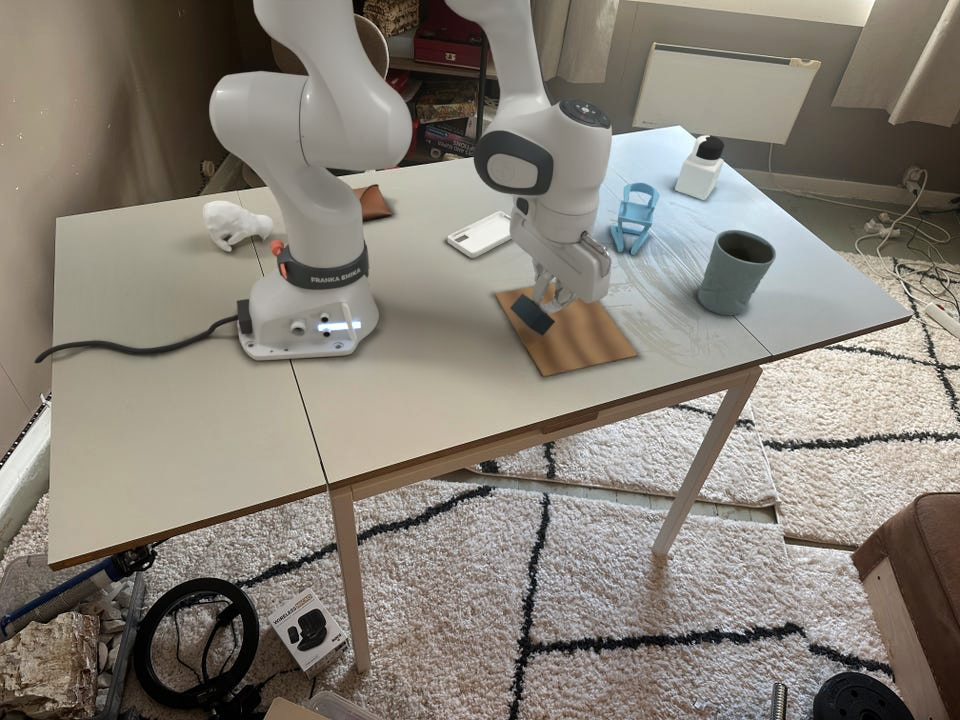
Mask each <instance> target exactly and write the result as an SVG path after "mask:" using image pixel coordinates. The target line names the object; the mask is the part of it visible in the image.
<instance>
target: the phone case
mask: <svg viewBox="0 0 960 720" xmlns="http://www.w3.org/2000/svg"><path fill="white" fill-rule="evenodd" d="M510 219H511V215H509V214H507V213H506V212H504V211H502V210H499V211H496V212H494V213H492V214H490V215H488V216H486V217H484V218H482V219H480V220H477V221H475V222H473V223H471V224H469V225H467V226H465V227H463V228H461V229H459V230H457V231H454V232H452V233H449V235H448V236H447V243H448V244H449V245H451V246H452V247H453V248H455V249H456V250H458V251H460V252H461V253H463V254H464V255H466V256H467V257H469V258H470V259H475V258H477V257H479V256H481V255H483V254H485V253H487V252H489V251H491V250H493V249H494V248H496V247H498V246H500V245H502V244H505V243H506V242H508V241H510V240H512V239H511V236H510V232H509V228H510ZM463 236H465V237H467V238H466V239H464V240H462V241H460V242H458V241H457V239H459V238H461V237H463Z"/></svg>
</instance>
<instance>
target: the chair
mask: <svg viewBox="0 0 960 720" xmlns="http://www.w3.org/2000/svg"><path fill="white" fill-rule="evenodd" d="M631 192H632V193H633V192H637V193H643V194H646V195H649V196H651V197H650V198H649V201H648V203H647V204H640V203H636V202H635V203H634V202H632V201H629V200H630V193H631ZM660 196H661V194H660V192H659V191H658V190H657V189H656V188H654V186H651V185H650V184H648V183H645V182H633V183H629V184H626V185H625V186H623V199H621V200H620V203H619V209H618V216H617V224H611V225H610V233H611V235H612V238H613V241H614V242H615V245H616V249H617V252H618V253H623V252H624V251H623V250H624V247H625V246H624V245H625V244H624V234H623V233H627V234H634V235H638V237H637V239H636V241H634V243H633V245H632V247H631V250H630V254H631V255H633V256H634V255H636V253H637V251H638V250H639V249H640V248H641V247H642V245H643V244H644V243H645V242H646V241H647V240H648V238H649V235H650V231H649V230H650V228H652V225H653V219H654V211H655V210H656V206H657V203H658V201H659V199H660ZM623 223H631V224H636V225H640V226H643V229H638V228H632V227H631V228H630V227H626V226H623Z"/></svg>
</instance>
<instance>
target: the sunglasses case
mask: <svg viewBox="0 0 960 720" xmlns="http://www.w3.org/2000/svg"><path fill="white" fill-rule="evenodd" d="M379 186H380V185H379V184H378V183H374V184H370V185H369V186H364V187H359V188H352V189H353V190H354V192H355V193H356V195H357V197H358V199H359V201H360V203H361V207H362V221H363V223H365V222H369V221H373V220H377V219H381V218H385V217H388V216H393V214H394V213H393V211H391V210H390V208H389V207H388V205H387V202H386V201H385V199H384V196H383V194H382V192H381V190H380V187H379Z"/></svg>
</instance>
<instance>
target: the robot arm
mask: <svg viewBox="0 0 960 720" xmlns="http://www.w3.org/2000/svg"><path fill="white" fill-rule="evenodd" d="M252 3H253V10H254V11H253V12H254V14H255V17H256V19H257V20H258V22H259V25H260V26H261V27H262V29H263V30H264V31H265V32H266V33H267V35H268V36H269V37H270V38H272V39H273V40H275V41H276V42H278V43H279V44H281V45H282V46H284V47H286V48H288V49H289V50H290V51H291V52H293V53H294V54H295V56H297V58H298V59H299V60H300V62H301V63H302V64H303V66H304V68H305V70H306V71H307V74H308V75H301V74H293V73H282V72H274V71H273V72H272V71H264V70H259V71H258V70H257V71H250V72H249V71H248V72H240V73H232V74H226V75H225V76H223V77H222V78H221V79H220V80H219V81H218V82H217V84H216V85H215V87H214V88H213V91H212V93H211V96H210V100H209V106H208V107H209V109H208V111H209V113H208V114H209V120H210V125H211V127H212V131H213V133H214V134H215V137H216V139H217V140H218V142H219V143H220V144H221V145H222V146H223V148H224V149H225V150H226V151H228V152H230V153H231V154H232V155H234V156H236V157H237V158H239V159H241V161H242V162H244V163H245V164H246V165H248V166H249V167H250V168H251V169H252V170H253V171H254V173H256V174H257V176H258V177H259V178H260V179H261V180H262V181H263V182H264V184H265V185H266V187H267V189H269V190H270V192H271V194H272V196H273V197H274V199H275V200H276V203H277V205H278V207H279V210H280V213H281V217H282V221H283V224H284V229H285V233H286V238H287V245H286V246H285V244H284V241H282V240H280V239H275V240H274V239H273V241H271V243H270V250H271V253H272V255H273V256H274V257H276V264H277V266H276V267H275V268H273V269H272V270H271V271H269V272H268V273H267V274H266V275H264V276H263V277H261V278H260V279H258V280H257V281H255V283H254V284H253V286H252V287H251V289H250V294H249V298H246V299H237V300H236V309H237V314H235V315H231V316H228V317H225V318H222V319H219V320H217V321H215V322H214V323H212V324H211V325H210V327H209V328H208V329H206V330H204V331H203V332H201V333H199V334H197V335H195V336H192V337H189V338H188V339H185V340H182V341H179V342H176V343H172V344H168V345H162V346H156V347H144V348H143V347H141V348H139V347H131V346H126V345H123V344H119V343H117V342H112V341H107V340H84V341H83V340H82V341H73V342H67V343H62V344H57V345H54V346H52V347H50V348H48V349H45V350H44V351H43V352H41V353H40V354H39V355H38V356H37V357H36V358H35V360H34V364H40V363H42V362H43V361H44V360H45V359H46V358H47V357H49V356H50V355H52V354H54V353H57V352H60V351H63V350H68V349H74V348H84V347H104V348H109V349H115V350H117V351H121V352H124V353H128V354H135V355H137V354H138V355H147V354H156V353H164V352H168V351H172V350H173V351H174V350H177V349H180V348H183V347H185V346H186V347H187V346H188V345H191V344H193V343H196V342H199V341H200V340H203V339H205V338H207V337H209V336H210V335H212V334H213V333H214V332H215V331H216V330H217V328H219V327H221V326H224V325H226V324H229V323H233V322H236V321H237V333H238V334H237V335H238V339H239V342H240V346H241V347H242V349H243V350H244V352H245V353H246V354H247V355H248V356H249V358H251V359H253V360H254V361H276V360H291V359H308V358H325V357H326V358H327V357H341V356H342V357H343V356H349V355H351V354H352V353H353V354H354V352H355V351H356V349H357V347H358V345H359V343H360V342H361V341H362V340H363V339H365V338H366V337H368V336H369V335H370V334H371V333H372V332H373V331H374V330H375V328H376V327H377V325H378V322H379V317H380V312H379V308H378V306H377V304H376V302H375V300H374V297H373V294H372V290H371V286H370V282H369V276H370V273H369V272H370V257H369V256H370V255H369V248H368V245H367V243H366V240H365V237H364V222H363V221H362V207H361V203H360V201H359V199H358V197H357V195H356V193H355V192H354V190H353V189H354V188H352V187H351V186H350V184H348V183H347V182H345V181H344V180H342V179H341V178H339V177H337V176H336V175H335V174H333V173H331V172H330V171H329V170H328V169H335V170H337V169H338V170H346V171H354V172H365V171H366V172H367V171H378V170H387V169H393V168H395V167H396V166H398V165H399V164H400V162H402V161H403V159H404V157H405V156H406V155H407V153H408V150H409V148H410V146H411V142H412V139H413V121H412V116H411V113H410V109H409V107H408V105H407V103H406V101H405V100H404V99H403V97H402V96H401V94H399V92H398V91H397V90H396V89H394V88H393V87H392V86H391V85H390V84H388V82H387V81H386V80H385V79H384V78H383V77H382V76H381V75H380V73H379V72H378V71H377V70H376V68H375V67H374V65H373V64H372V62H371V60H370V58H369V57H368V55H367V53H366V51H365V49H364V47H363V44H362V42H361V39H360V36H359V33H358V29H357V25H356V20H355V13H354V5H353V0H252ZM444 3H445V4H446V6H447V7H449V8H450V9H451V11H452V12H454V13H456V14H457V15H458V16H459V17H461V18H463V19H465V20H467V21H470V22H474V23H476V24H477V25H478V26H479V27H481V29H482V30H483V31H484V33H485V35H486V37H487V41H488V43H489V48H490V52H491V56H492V60H493V64H494V68H495V73H496V78H497V82H498V86H499V90H500V91H499V101H498V106H497V109H496V113H495V114H494V117H493V118H492V120H491V122H489V124H488V125H487V127H486V128H485V129H484V132H483V133H482V134H481V136H480V138H479V139H478V141H477V142H476V144H475V147H474V149H473V165H474V169H475V171H476V174H477V175H478V177H479V178H480V179H481V181H482V182H483V183H484V184H485V185H486V186H487V187H489V188H490V189H492V190H493V191H496V192H499V193H500V194H507V195H513V199H512V203H513V207H512V210H511V214H510V217H511V219H510V218H509V220H510V228H509V232H510V236H511V239H510V240H511V241H512V242H513V243H515V244H516V245H517V246H518V247H519V248H521V249H522V250H523V251H524V252H525V253H527V255H529V256H530V257H531V258H532V260H531V262H532V266H533V271H534V273H535V274H534V282H535V283H536V281H537V279H538V278H539V276H541V275H542V273H543V272H544V271H545V270H547V271H549V272H550V273H551V274H552V275H553V276H554V278H555V279H556V278H557V279H558V280H559V281H560V282H561V287H562V288H560V289H557V290H555V296H554V298H555V299H556V300H557V301H558V302H559V303H563V302H566V301H567V300H568V297H569V293H570V292H571V291H572V292H573V293H574V294H575V295H577V296H578V297H579V298H580V299H581V300H582V301H584V302H585V303H587V304H588V303H592V302H595V301H598V302H599V301H600V300H602V299H603V298H605V297H607V295H608V292H609V289H610V283H611V274H612V264H613V263H612V262H613V260H612V257H611V256H610V254H609V252H608V248H607V247H606V245H604V243H602V242H599V241H598V240H597V239H596V238H595V237H594V236H593V231H594V228H595V222H596V219H597V214H598V210H599V206H600V200H601V199H600V188H601V186H602V184H603V182H604V181H605V179H606V175H607V171H608V167H609V161H610V156H611V150H612V140H613V128H612V122H611V120H610V117H609V116H608V114H607V113H606V112H605V111H604V110H603V109H602V108H601V107H599V106H598V105H597V104H595V103H593V102H590V101H589V100H585V99H582V98H575V97H574V98H573V97H568V98H564V99H560V101H558V102H556V101H555V98H554V97H553V95H552V93H551V91H549V88H548V86H547V84H546V81H545V77H544V74H543V68H542V63H541V57H540V56H541V55H540V51H539V46H538V40H537V34H536V29H535V24H534V18H533V14H532V8H531V0H444Z"/></svg>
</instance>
